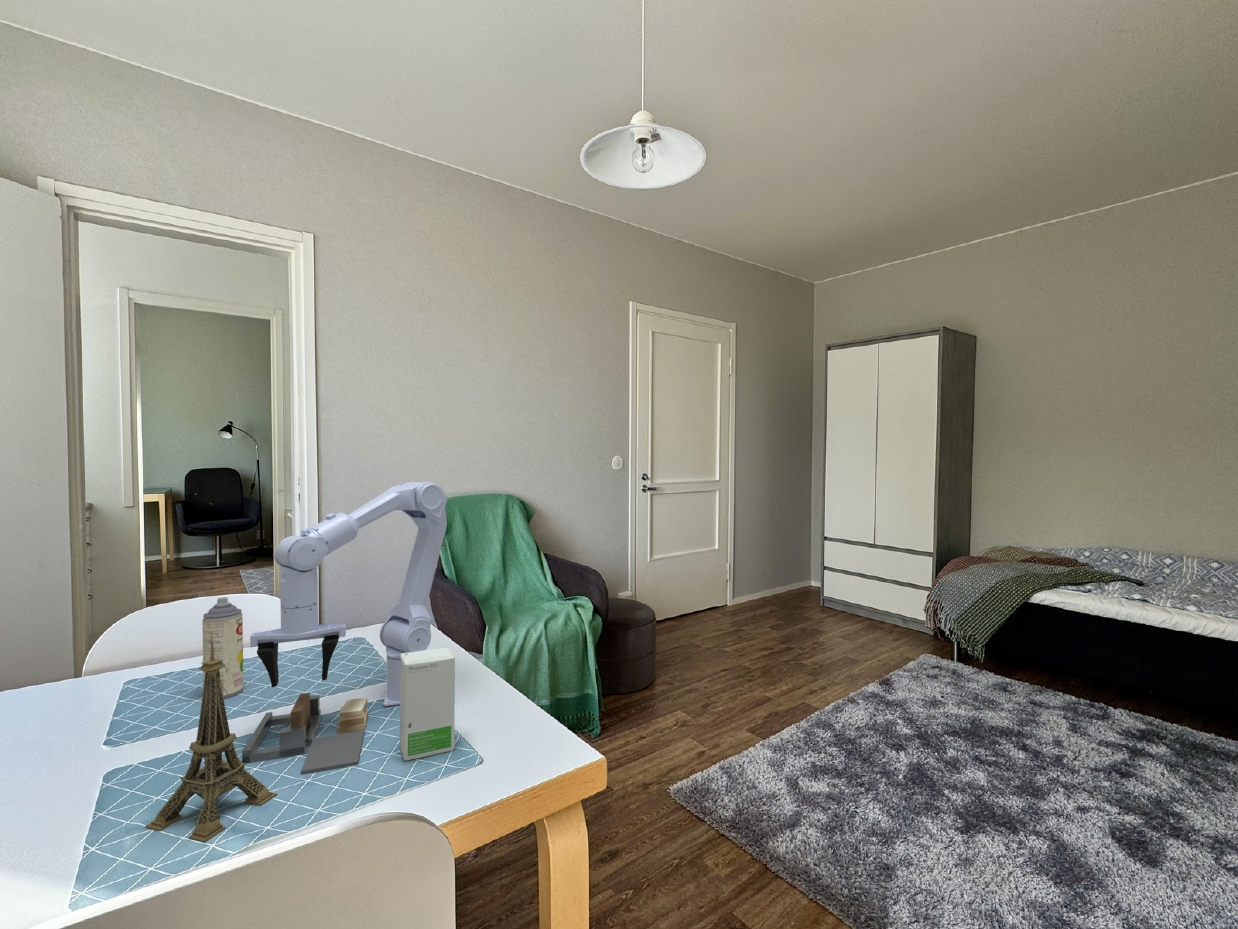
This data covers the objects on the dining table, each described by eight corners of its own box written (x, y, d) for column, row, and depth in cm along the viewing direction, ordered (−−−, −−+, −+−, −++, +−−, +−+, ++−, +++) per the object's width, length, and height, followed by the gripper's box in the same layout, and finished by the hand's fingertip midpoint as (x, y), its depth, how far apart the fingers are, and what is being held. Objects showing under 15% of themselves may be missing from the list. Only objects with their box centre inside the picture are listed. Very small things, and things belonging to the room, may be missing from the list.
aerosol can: (245, 694, 117) (244, 598, 116) (204, 703, 112) (203, 603, 112) (241, 684, 122) (240, 592, 122) (202, 692, 118) (201, 597, 117)
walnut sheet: (310, 725, 103) (310, 692, 103) (301, 746, 95) (301, 710, 95) (300, 726, 102) (300, 693, 102) (290, 747, 95) (290, 712, 95)
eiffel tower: (222, 784, 84) (220, 618, 84) (277, 795, 81) (275, 623, 81) (145, 828, 74) (142, 639, 74) (204, 843, 71) (201, 646, 71)
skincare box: (403, 762, 90) (402, 665, 89) (398, 744, 95) (397, 653, 95) (456, 750, 93) (456, 656, 93) (449, 733, 99) (448, 645, 99)
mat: (364, 733, 99) (364, 730, 99) (357, 764, 89) (357, 761, 89) (313, 741, 97) (313, 738, 97) (300, 774, 86) (300, 771, 86)
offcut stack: (368, 714, 107) (367, 696, 107) (364, 731, 100) (364, 712, 100) (341, 717, 106) (341, 699, 105) (336, 735, 99) (336, 716, 99)
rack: (322, 715, 106) (322, 694, 106) (307, 753, 93) (307, 729, 93) (266, 723, 103) (266, 702, 103) (242, 763, 90) (241, 738, 90)
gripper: (346, 595, 105) (347, 667, 105) (256, 603, 100) (257, 679, 100) (343, 604, 99) (344, 681, 99) (246, 613, 93) (247, 695, 93)
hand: (300, 681), depth 99 cm, fingers open, 7 cm apart
